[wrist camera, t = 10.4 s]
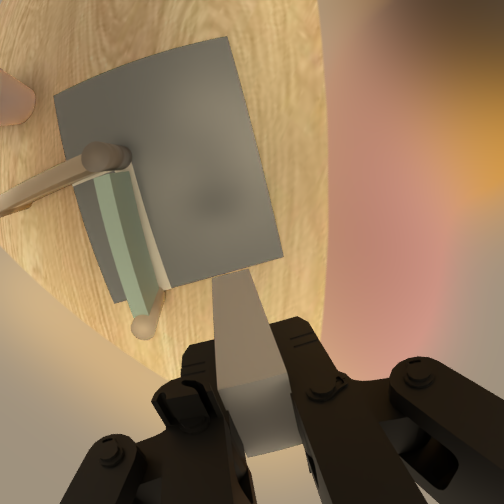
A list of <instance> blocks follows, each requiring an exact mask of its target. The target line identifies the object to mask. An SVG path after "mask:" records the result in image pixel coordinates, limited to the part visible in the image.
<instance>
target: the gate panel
mask: <svg viewBox="0 0 504 504" xmlns="http://www.w3.org/2000/svg"><path fill="white" fill-rule="evenodd" d="M93 179H94V184H95V189H96V193H97V198H98V202H99V206H100V210H101V214H102V218H103V222H104V226H105V230H106V233H107V237H108V241H109V244H110V248H111V251H112V255H113V258H114V261H115V265H116V268H117V271H118V274H119V277H120V280H121V283H122V286H123V289H124V292H125V295H126V298H127V301H128V304H129V307H130V310H131V312H132V315H133V318H134V320H133V322H132V324H131V331H132V333H133V335H134V336H135V337H136V338H138V339H140V340H149V339H151V338H152V337H153V336H154V334H155V331H156V327H157V324H158V320H159V317H160V313H161V310H162V307H163V303H164V300H165V292H164V291H163V289H162V288H160V287H158V283H157V280H156V277H155V273H154V270H153V266H152V263H151V259H150V256H149V252H148V248H147V245H146V241H145V237H144V233H143V229H142V225H141V221H140V217H139V213H138V209H137V205H136V201H135V196H134V192H133V187H132V183H131V178H130V173H129V171H127V172H117V173H109V174H106V175H102V176H99V177H96V178H93Z"/></svg>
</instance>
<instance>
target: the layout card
mask: <svg viewBox="0 0 504 504" xmlns="http://www.w3.org/2000/svg"><path fill="white" fill-rule="evenodd" d="M54 102H55V108H56V114H57V119H58V125H59V130H60V135H61V139H62V144H63V149H64V153H65V157H66V161H67V160H69V159H72V158H74V157H76V156H78V155H81V154H82V152H83V150H84V148H85V147H86V146H87V145H88V144H89V143H91V142H94V141H98V142H104V143H110V144H115V145H120V146H125V147H127V148H129V149H130V151H131V153H132V162H131V163H130V165H129V166H128V167H127V168H125V169H123V170H114V171H103V172H100V173H98V174H95V175H93V176H90V177H88V178H85V179H83V180H80V181H78V182H76V183H73V184H72V186H73V188H74V192H75V195H76V199H77V202H78V206H79V209H80V212H81V215H82V218H83V222H84V225H85V228H86V231H87V234H88V237H89V240H90V242H91V245H92V248H93V251H94V254H95V256H96V259H97V262H98V264H99V267H100V270H101V272H102V275H103V277H104V280H105V282H106V285H107V287H108V290H109V292H110V295H111V297H112V299H113V302H114V304H115V303H119V302H122V301H126V300H127V298H126V295H125V292H124V289H123V286H122V283H121V280H120V277H119V274H118V271H117V268H116V265H115V261H114V258H113V255H112V251H111V248H110V244H109V241H108V237H107V233H106V230H105V226H104V222H103V218H102V214H101V210H100V206H99V202H98V198H97V193H96V189H95V184H94V179H93V178H96V177H99V176H102V175H106V174H109V173H117V172H127V171H129V173H130V178H131V183H132V187H133V192H134V196H135V201H136V205H137V209H138V213H139V217H140V221H141V225H142V229H143V233H144V237H145V241H146V245H147V248H148V252H149V256H150V259H151V263H152V266H153V270H154V273H155V277H156V280H157V283H158V287H160V288H162V289H163V291H165V290H168V289H171V288H174V287H178V286H181V285H185V284H189V283H192V282H196V281H199V280H203V279H207V278H210V277H214V276H217V275H221V274H225V273H228V272H232V271H235V270H239V269H242V268H246V267H249V266H253V265H257V264H260V263H264V262H267V261H271V260H274V259H278V258H281V257H284V256H283V252H282V247H281V243H280V239H279V234H278V230H277V226H276V222H275V217H274V213H273V209H272V205H271V201H270V197H269V192H268V188H267V184H266V180H265V176H264V172H263V168H262V164H261V160H260V156H259V152H258V148H257V144H256V141H255V137H254V133H253V129H252V125H251V121H250V117H249V114H248V110H247V106H246V102H245V99H244V95H243V91H242V88H241V84H240V80H239V77H238V73H237V69H236V66H235V62H234V59H233V55H232V52H231V48H230V45H229V41H228V38H227V36H226V37H221V38H216V39H211V40H207V41H202V42H198V43H194V44H190V45H186V46H182V47H178V48H175V49H171V50H168V51H164V52H161V53H158V54H155V55H151V56H148V57H145V58H142V59H139V60H136V61H134V62H131V63H128V64H125V65H122V66H120V67H117V68H115V69H112V70H109V71H107V72H104V73H102V74H100V75H97V76H95V77H93V78H90V79H88V80H86V81H83V82H81V83H79V84H77V85H75V86H73V87H71V88H68V89H66V90H64V91H62V92H60V93H58V94H56V95H54Z"/></svg>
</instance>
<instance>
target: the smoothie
mask: <svg viewBox="0 0 504 504" xmlns="http://www.w3.org/2000/svg"><path fill="white" fill-rule="evenodd" d="M35 100H36V99H35V94H34V92H33V90H32V89H30V88H29V87H27V86H26V85H24V84H23V83H21V82H20V81H18V80H17V79H15V78H14V77H12V76H11V75H9V74H8V73H6V72H5V71H3V70H2V69H0V126H5V125H16V124H21V123H23V122H25V121H26V120H27V119H28V118H29V117H30V115H31V114H32V112H33V110H34V107H35Z"/></svg>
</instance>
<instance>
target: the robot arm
mask: <svg viewBox="0 0 504 504" xmlns="http://www.w3.org/2000/svg"><path fill="white" fill-rule="evenodd" d="M212 296H213V320H214V340H210V341H205V342H201V343H197V344H192V345H189V347H188V348H187V350H186V351H185V353H184V354H183V356H182V366H181V367H182V368H181V377H180V378H177V379H174V380H171V381H169V382H168V383H166V384H165V385H163V386H161V387H160V388H159V389H158V390H157V392H155V394H154V396H153V398H152V401H151V402H152V404H153V406H154V407H155V409H156V411H157V413H158V414H159V416H160V417H161V419H162V421H163V422H164V424H165V426H166V430H165V431H163V432H162V433H160V434H158V435H156V436H154V437H151V438H148V439H146V440H143V441H140V442H138V443H135V442H134V441H133V440H132V439H131V438H130V437H129V436H126V435H122V434H111V435H109V436H105V437H103V438H101V439H100V440H98V441H97V442H95V443H94V445H93V446H92V447H91V448H90V449H89V451H88V453H87V455H86V456H85V458H84V460H83V462H82V463H81V466H80V467H79V469H78V471H77V473H76V474H75V476H74V478H73V480H72V482H71V483H70V485H69V487H68V489H67V491H66V493H65V495H64V497H63V498H62V500H61V502H60V504H257V501H256V496H255V491H254V486H253V480H252V475H251V472H250V470H249V468H248V466H247V463H246V457H245V453H246V455H247V457H253V456H257V455H262V454H266V453H270V452H274V451H278V450H282V449H285V448H289V447H293V446H296V445H300V444H303V446H304V448H305V452H306V457H307V462H308V466H309V471H310V473H312V475H313V478H314V481H315V484H316V487H317V490H318V493H319V496H320V499H321V502H322V504H428V503H427V502H426V500H425V498H424V496H423V495H422V493H421V491H420V490H419V488H418V486H417V485H416V483H417V484H418V485H419V486H420V487H421V488H423V489H424V490H425V491H426V492H427V493H428V494H430V496H432V497H433V498H434V499H435V500H436V501H437V502H438V503H439V504H504V400H503V399H501V398H500V397H498V396H496V395H494V394H493V393H491V392H490V391H488V390H486V389H484V388H483V387H481V386H479V385H478V384H476V383H474V382H473V381H471V380H469V379H468V378H466V377H464V376H462V375H461V374H459V373H458V372H456V371H454V370H452V369H451V368H449V367H447V366H446V365H444V364H442V363H441V362H439V361H437V360H434V359H432V358H429V357H413V358H408V359H406V360H403V361H401V362H399V363H398V364H397V365H396V366H395V367H394V368H393V369H392V372H391V374H390V377H389V378H386V379H379V380H372V381H358V380H353V379H351V378H349V377H348V376H347V375H346V374H345V373H342V372H340V371H338V370H337V369H336V367H335V366H334V364H333V362H332V360H331V359H330V357H329V356H328V354H327V352H326V351H325V349H324V347H323V346H322V344H321V342H320V341H319V339H318V337H317V336H316V334H315V333H314V331H313V329H312V327H311V326H310V324H309V322H307V321H305V320H303V319H302V318H300V317H298V316H296V317H293V318H289V319H286V320H282V321H279V322H275V323H272V324H269V323H268V320H267V317H266V315H265V312H264V309H263V307H262V304H261V301H260V298H259V296H258V293H257V290H256V288H255V285H254V282H253V280H252V277H251V274H250V271H249V269H246V270H242V271H238V272H234V273H231V274H227V275H223V276H219V277H215V278H212ZM415 482H416V483H415Z"/></svg>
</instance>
